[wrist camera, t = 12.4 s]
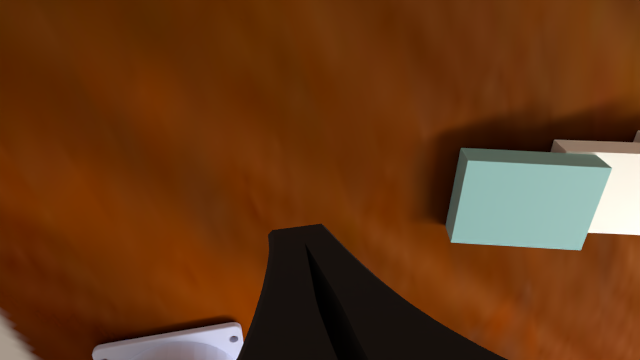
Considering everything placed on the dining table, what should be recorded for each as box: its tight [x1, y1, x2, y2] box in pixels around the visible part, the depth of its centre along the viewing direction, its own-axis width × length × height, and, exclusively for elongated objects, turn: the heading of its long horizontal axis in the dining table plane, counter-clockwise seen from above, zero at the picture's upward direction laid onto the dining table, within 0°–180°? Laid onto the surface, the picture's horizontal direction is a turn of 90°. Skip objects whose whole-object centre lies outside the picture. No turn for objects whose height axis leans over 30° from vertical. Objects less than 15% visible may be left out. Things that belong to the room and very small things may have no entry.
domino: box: [551, 140, 640, 235], centre depth 24 cm, size 5×2×7 cm
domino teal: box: [446, 148, 612, 250], centre depth 23 cm, size 5×2×7 cm
